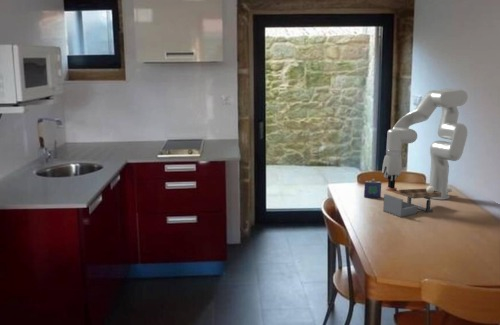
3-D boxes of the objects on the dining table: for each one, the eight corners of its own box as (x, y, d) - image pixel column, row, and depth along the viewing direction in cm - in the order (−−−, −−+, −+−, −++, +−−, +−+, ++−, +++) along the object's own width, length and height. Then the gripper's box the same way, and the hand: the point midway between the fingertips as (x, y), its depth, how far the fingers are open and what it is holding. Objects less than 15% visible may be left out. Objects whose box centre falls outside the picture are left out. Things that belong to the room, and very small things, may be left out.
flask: (380, 196, 293) (381, 178, 290) (381, 198, 290) (382, 179, 287) (363, 196, 293) (364, 178, 291) (364, 198, 290) (365, 179, 288)
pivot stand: (409, 204, 278) (410, 193, 276) (432, 211, 265) (433, 200, 264) (404, 205, 276) (405, 194, 274) (427, 212, 263) (427, 201, 262)
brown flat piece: (412, 189, 287) (412, 184, 286) (443, 198, 269) (444, 193, 269) (384, 191, 275) (385, 185, 275) (415, 200, 258) (416, 194, 258)
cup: (399, 207, 272) (400, 191, 270) (416, 213, 262) (418, 196, 260) (383, 211, 266) (384, 194, 264) (400, 217, 256) (401, 199, 254)
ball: (428, 192, 276) (430, 185, 276) (435, 194, 272) (436, 187, 272) (423, 192, 274) (425, 184, 273) (430, 193, 270) (431, 186, 270)
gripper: (398, 150, 277) (395, 184, 281) (377, 153, 270) (375, 187, 273) (409, 153, 271) (406, 187, 275) (388, 155, 263) (386, 191, 267)
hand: (391, 187), depth 274 cm, fingers closed
